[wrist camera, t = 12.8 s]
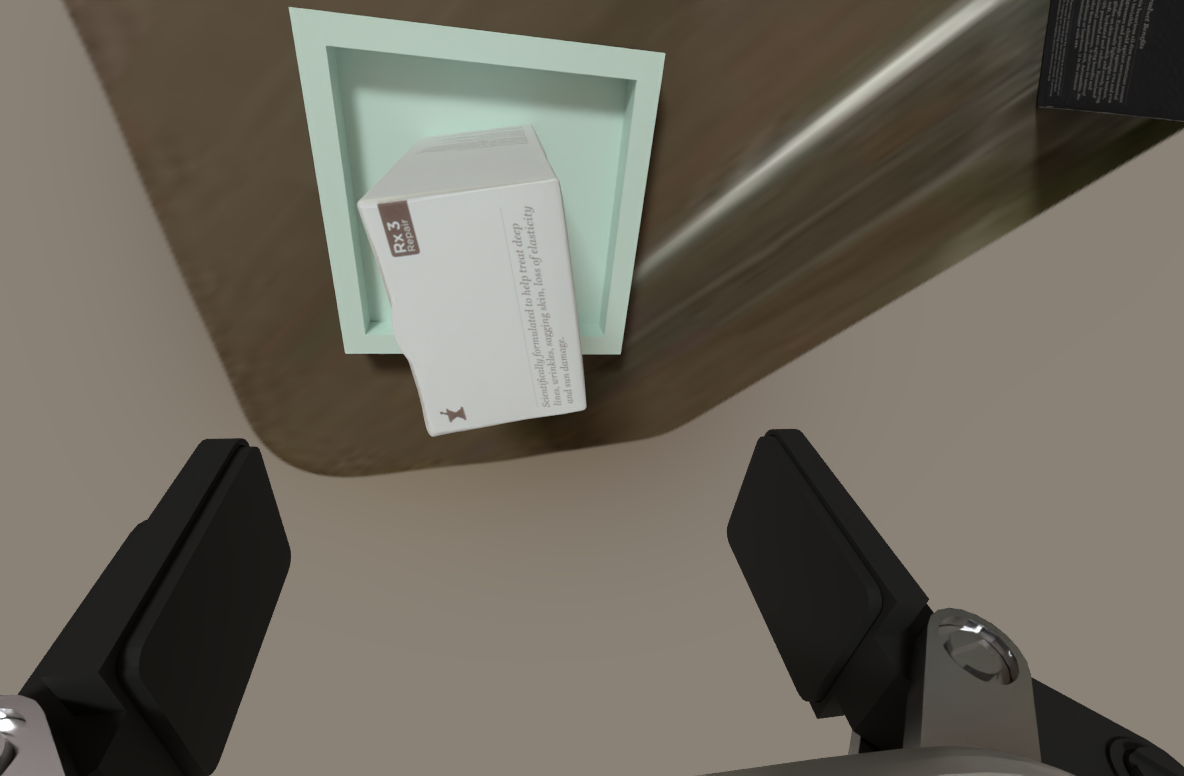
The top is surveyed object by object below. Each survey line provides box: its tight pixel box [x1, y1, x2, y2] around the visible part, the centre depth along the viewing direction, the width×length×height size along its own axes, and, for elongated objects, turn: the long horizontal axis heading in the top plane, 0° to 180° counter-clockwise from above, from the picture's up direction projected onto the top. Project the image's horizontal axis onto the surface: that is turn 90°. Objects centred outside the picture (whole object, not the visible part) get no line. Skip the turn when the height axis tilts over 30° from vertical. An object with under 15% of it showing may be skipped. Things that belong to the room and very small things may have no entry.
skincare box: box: [357, 124, 586, 437], centre depth 23 cm, size 8×6×15 cm
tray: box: [289, 7, 665, 354], centre depth 29 cm, size 16×16×2 cm
